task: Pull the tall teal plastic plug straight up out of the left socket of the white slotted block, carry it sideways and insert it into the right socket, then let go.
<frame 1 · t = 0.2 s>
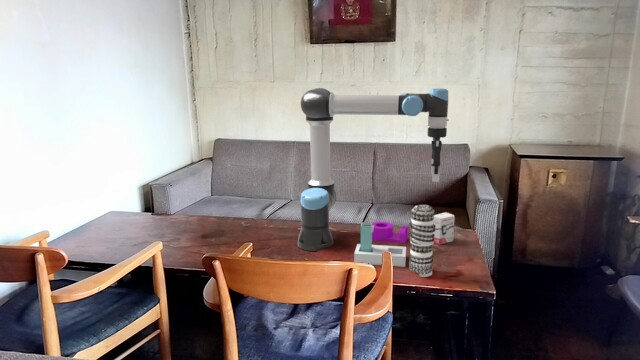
hand: (434, 177, 197), 28 cm above the table, fingers open, 13 cm apart
plug: (366, 258, 182), point 1 cm above the table, touching white slotted block
ink box: (442, 241, 202), on the table
white slotted block: (380, 262, 181), on the table
decorative candle: (420, 272, 172), on the table
tape dispenser: (388, 240, 206), on the table
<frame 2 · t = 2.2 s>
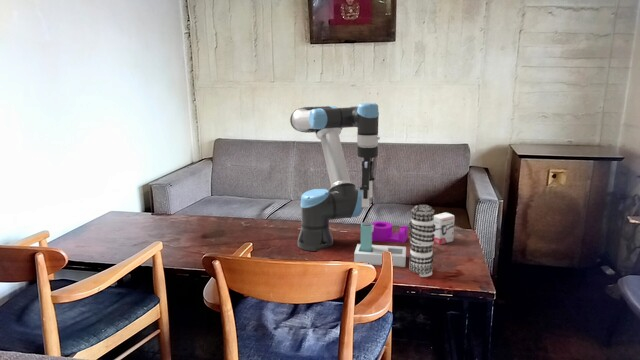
hand: (367, 202, 177), 24 cm above the table, fingers open, 13 cm apart
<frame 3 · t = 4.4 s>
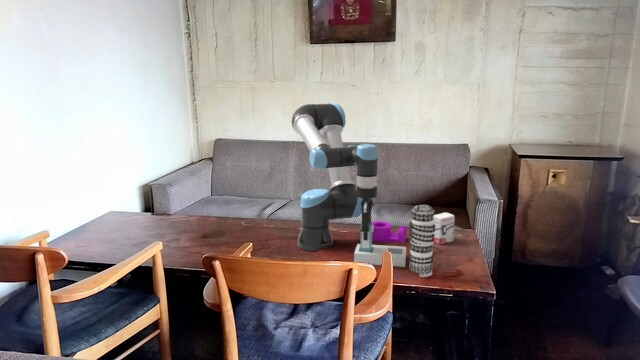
hand: (366, 245, 181), 7 cm above the table, fingers closed on plug, 4 cm apart
plug: (366, 258, 182), point 1 cm above the table, touching gripper, white slotted block
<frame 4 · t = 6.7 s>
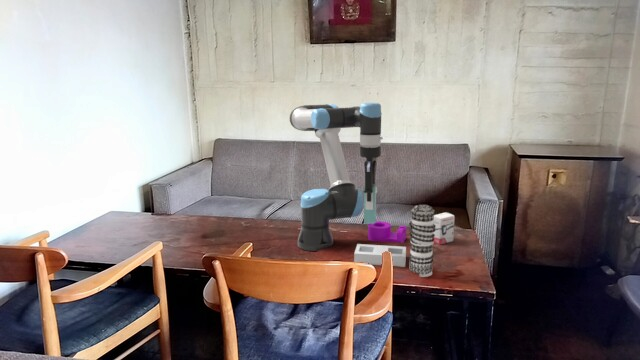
hand: (370, 207, 177), 22 cm above the table, fingers closed on plug, 4 cm apart
plug: (369, 221, 178), point 16 cm above the table, touching gripper
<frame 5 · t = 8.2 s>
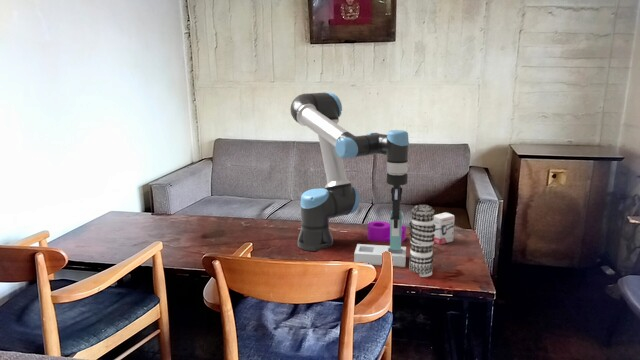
hand: (395, 233, 177), 12 cm above the table, fingers closed on plug, 4 cm apart
plug: (395, 247, 179), point 6 cm above the table, touching gripper
when the fingers open (8 cm above the table, at t = 9.3 s): plug drops 1 cm, resting on white slotted block.
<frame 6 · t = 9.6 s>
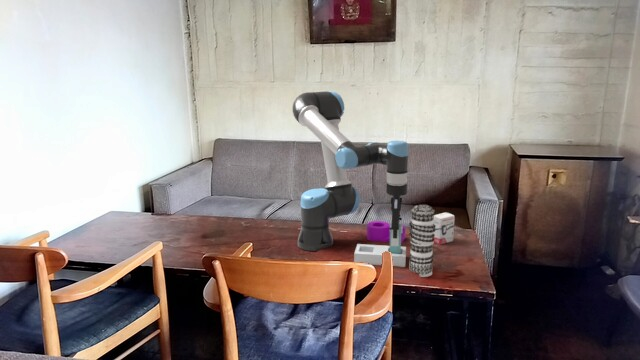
hand: (395, 241, 178), 9 cm above the table, fingers open, 9 cm apart
plug: (394, 260, 180), point 1 cm above the table, touching white slotted block
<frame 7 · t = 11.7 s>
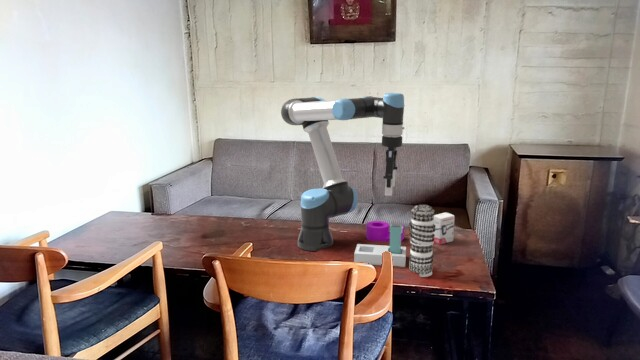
hand: (389, 190, 180), 27 cm above the table, fingers open, 13 cm apart
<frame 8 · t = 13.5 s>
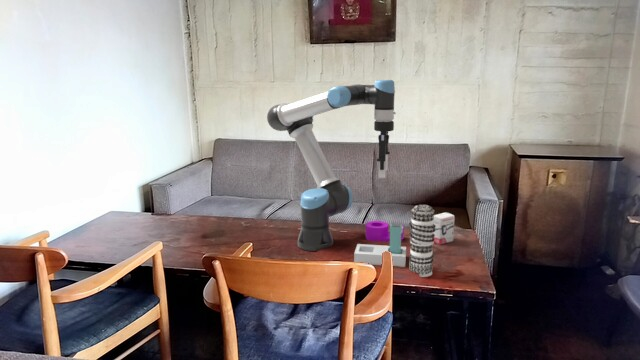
hand: (383, 174, 187), 32 cm above the table, fingers open, 13 cm apart
at the end: plug 0.0 cm from the target spot on the white slotted block, point 1.1 cm above the white slotted block's base; plug tilted 0°; the gripper is holding nothing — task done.
